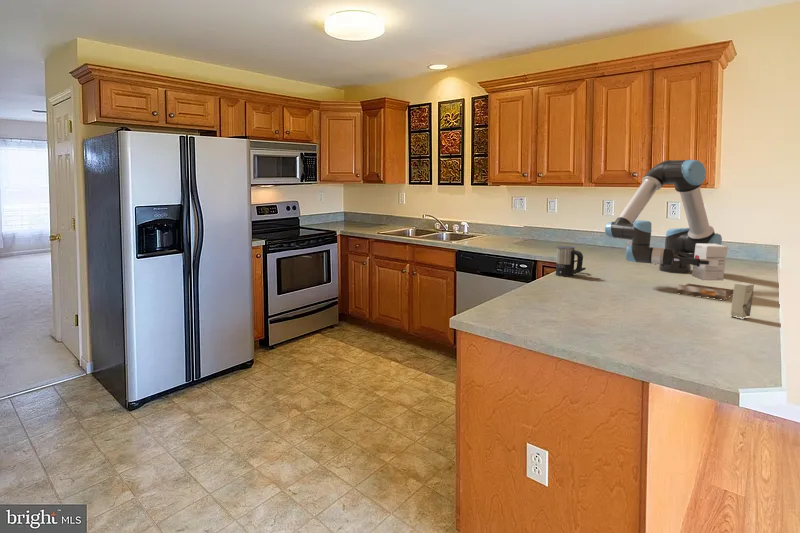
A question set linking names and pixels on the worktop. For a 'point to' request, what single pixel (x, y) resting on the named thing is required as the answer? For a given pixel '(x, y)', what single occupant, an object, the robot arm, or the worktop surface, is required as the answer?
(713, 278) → the supplement box
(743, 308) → the box
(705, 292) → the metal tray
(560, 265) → the milk frother
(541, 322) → the worktop surface
